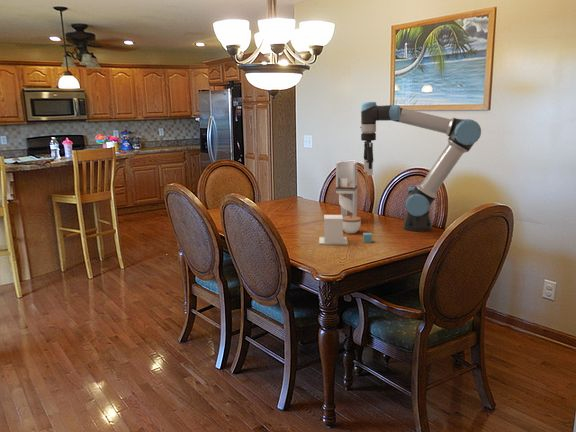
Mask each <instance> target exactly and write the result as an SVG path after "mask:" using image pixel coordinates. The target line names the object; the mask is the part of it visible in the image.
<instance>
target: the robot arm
mask: <svg viewBox="0 0 576 432" xmlns="http://www.w3.org/2000/svg"><path fill="white" fill-rule="evenodd" d="M360 108H361V109H360V110H361V111H360V118H361V120H360V123H361V126H359V129H361V130H360V131H361V134H360V137H361V138H360V140H361V141H362V142H363V141H364V144H363V147H364V148H363V149H364V150H363V172H364V173H366V176H373V175H374V174H373V170H374V169H373V168H374V167H373V165H374V164H373V163H374V145H373V144H374V143H373V141H376V139H377V133H376V132H377V122H379V121H380V122H383V121H386V122H387V121H392V122H396V123H401V124H404V125H405V124H406V125H409V126H414V127H418V128H420V129H421V128H422V129H425V130H429V131H434V132H437V133H442V134H445V135H446V136H447V137H448V138H447V142H448V143H447V145H446V147H445V148H444V149H443V151H442V152H441V153H440V155H439V156H438V158H437V159H436V161H435V163H434V164H433V165H432V167H431V168H430V170H429V171H428V173H427V174H426V176H425V178H424V179H423V180H422V182H421V183H420V184H416V185H415V186H409V187H408V189H407V198H406V200H405V203H404V204H405V205H404V206H405V209H406V211H407V213H406V217H405V219H404V222H403V226H402V227H403V228H402V229H404V230H407V231H412V232H429V231H431V230H432V229H433V224H432V221H431V217H430V207H431V206H432V204H433V203H434V201H435V200H436V198H437V197H436V193H437V192H438V191H439V189H440V187H441V186H442V185H443V183H444V182H445V180H446V178H448V176H449V174H450V173H451V172H452V170H453V168H455V166H456V164H458V162H459V160H461V157H462V156H463V154H464V153H468V152H469V151H471V149H472V147H473V146H474V145H475V143H477V142H478V140H479V139H480V138H481V134H482V129H481V125H480V124H479V122H477V121H475V120H474V119H469V118H467V119H465V118H463V119H462V118H456V117H452V118H448V117H447V118H446V117H442V116H438V115H434V114H430V113H426V112H421V111H417V110H414V109H413V110H412V109H408V108H405V107H404V108H403V107H401V106H400V105H399V104H397V105H396V104H392V105H391V104H388V105H387V104H386V105H378V104H377V102H376V101H365V102H364V101H363V102H362V104H361V107H360Z"/></svg>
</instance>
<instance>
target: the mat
mask: <svg viewBox="0 0 576 432" xmlns="http://www.w3.org/2000/svg"><path fill="white" fill-rule="evenodd" d="M318 244H319V245H330V246H331V245H333V246H334V245H342V246H343V245H344V246H345V245H346V246H347V245H349V241H348V239H347V237H346V236H343V243H324V236H319V238H318Z"/></svg>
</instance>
